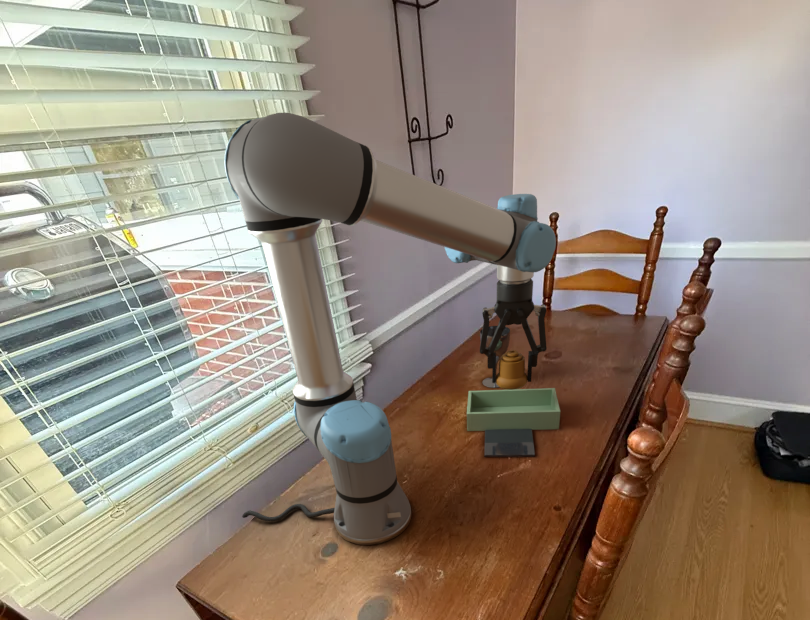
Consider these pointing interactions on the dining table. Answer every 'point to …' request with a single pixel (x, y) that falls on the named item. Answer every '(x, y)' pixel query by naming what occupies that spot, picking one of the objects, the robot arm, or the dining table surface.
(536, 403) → the tote
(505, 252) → the robot arm
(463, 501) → the dining table surface
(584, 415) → the dining table surface
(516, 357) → the ornamental finial
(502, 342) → the metal goblet
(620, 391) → the dining table surface
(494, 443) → the slate tile
